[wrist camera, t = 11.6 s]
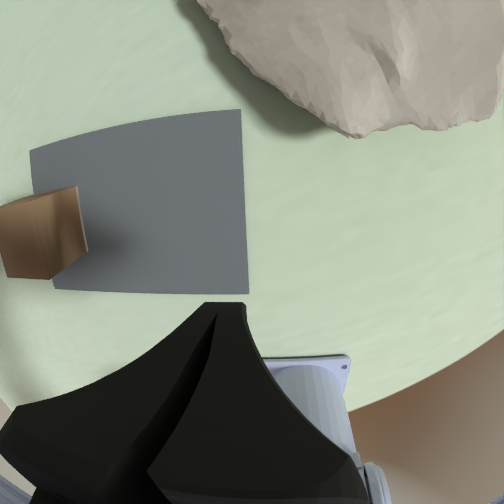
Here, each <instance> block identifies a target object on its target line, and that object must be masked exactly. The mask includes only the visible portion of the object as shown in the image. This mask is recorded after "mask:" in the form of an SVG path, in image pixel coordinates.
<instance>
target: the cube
mask: <svg viewBox="0 0 504 504" xmlns="http://www.w3.org/2000/svg"><path fill="white" fill-rule="evenodd" d="M87 252H88V247H87V242H86V237H85V232H84V227H83V221H82V215H81V209H80V202H79V195H78V188H77V186H74V187H69V188H64V189H58V190H53V191H48V192H43V193H39V194H34V195H31V196H28V197H25V198H22V199H19V200H16V201H14V202H11V203H8V204H5V205H3V206H0V253H1V257H2V260H3V264H4V267H5V271H6V274H7V277H10V278H27V279H45V280H50V279H51V278H53V277H54V276H55V275H57V274H58V273H59V272H61V271H62V270H63V269H65V268H66V267H67V266H69V265H70V264H72V263H73V262H74V261H76V260H77V259H79V258H80V257H81V256H83V255H84V254H86V253H87Z"/></svg>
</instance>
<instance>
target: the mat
mask: <svg viewBox="0 0 504 504" xmlns="http://www.w3.org/2000/svg"><path fill="white" fill-rule="evenodd" d="M30 164H31V175H32V184H33V191H34V194H39V193H43V192H48V191H53V190H58V189H64V188H69V187H74V186H77V188H78V195H79V202H80V209H81V215H82V221H83V227H84V232H85V237H86V242H87V247H88V252H87V253H86V254H84V255H83V256H81V257H80V258H79V259H77V260H76V261H74V262H73V263H72V264H70V265H69V266H67V267H66V268H65V269H63V270H62V271H61V272H59V273H58V274H57V275H55V276H54V277H53V278H52V280H53V283H54V287H55V289H67V290H83V291H102V292H126V293H157V294H249V280H248V260H247V239H246V218H245V196H244V174H243V152H242V128H241V110H240V109H236V110H222V111H210V112H200V113H191V114H183V115H176V116H169V117H162V118H156V119H150V120H144V121H139V122H133V123H128V124H123V125H119V126H114V127H110V128H105V129H101V130H97V131H93V132H89V133H85V134H81V135H78V136H74V137H71V138H67V139H64V140H60V141H57V142H54V143H51V144H48V145H45V146H42V147H39V148H36V149H33V150H30Z"/></svg>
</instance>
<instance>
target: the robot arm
mask: <svg viewBox="0 0 504 504" xmlns="http://www.w3.org/2000/svg"><path fill="white" fill-rule="evenodd" d="M350 364H351V359H350V357H349V356H334V357H319V358H299V359H262V357H261V355H260V353H259V351H258V349H257V347H256V345H255V343H254V340H253V338H252V335H251V332H250V330H249V326H248V323H247V313H246V305H245V304H244V303H243V302H205V303H203V304H202V305H201V306H200V307H199V308H198V309H197V310H196V311H195V312H194V313H193V314H191V315H190V316H189V317H188V318H187V319H186V320H185V321H184V322H183V323H182V324H181V325H179V326H178V327H177V328H176V329H175V330H174V331H173V332H172V333H170V334H169V335H168V336H167V337H165V338H164V339H163V340H162V341H160V342H159V343H158V344H157V345H155V346H154V347H153V348H151V349H150V350H149V351H147V352H146V353H145V354H143V355H142V356H140V357H139V358H137V359H136V360H134V361H132V362H131V363H129V364H128V365H126V366H124V367H123V368H121V369H119V370H117V371H115V372H114V373H112V374H110V375H108V376H106V377H104V378H102V379H100V380H98V381H96V382H94V383H91V384H89V385H87V386H84V387H82V388H79V389H77V390H74V391H71V392H69V393H66V394H63V395H60V396H57V397H53V398H50V399H46V400H42V401H38V402H34V403H29V404H25V405H19V406H17V407H16V408H15V410H14V411H13V413H12V414H11V416H10V417H9V418H8V420H7V421H6V423H5V424H4V426H3V427H2V429H1V430H0V454H1V455H2V456H3V457H4V458H5V459H6V461H7V462H8V463H9V464H11V465H12V466H13V467H14V468H15V469H16V470H17V471H18V472H19V473H20V474H21V475H22V476H24V477H25V478H26V479H27V480H28V481H29V482H31V483H32V484H33V485H34V486H35V487H37V488H36V490H35V492H34V494H33V496H30V495H29V494H27V493H26V492H24V491H23V490H21V489H19V488H18V487H17V486H15V485H14V484H12V483H11V482H9V481H8V480H6V479H5V478H4V477H2V476H1V475H0V504H391V498H390V494H389V490H388V485H387V481H386V478H385V475H384V473H383V470H382V468H381V467H379V466H377V465H374V463H372V462H369V463H365V464H364V465H363V467H364V473H363V469H362V464H361V460H360V456H359V453H358V452H356V449H355V444H354V440H353V435H352V431H351V426H350V422H349V418H348V413H347V409H346V405H345V401H344V397H343V394H344V390H345V386H346V382H347V377H348V373H349V369H350ZM343 365H345V366H343ZM488 504H504V494H502V495H501V496H499V497H498V498H496V499H494V500H493V501H491V502H489V503H488Z"/></svg>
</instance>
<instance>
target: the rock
mask: <svg viewBox="0 0 504 504" xmlns="http://www.w3.org/2000/svg"><path fill="white" fill-rule="evenodd" d="M196 1H197V2H198V4H199V5H200V6H201V7H202V9H203V10H204V11H205V13H206V14H207V15H208V16H209V19H210V20H212V21H214V22H216V23H217V24H218V27H219V29H220V30H221V32H222V34H223V36H224V40H225V43H226V44H227V45H228V47H229V48H230V51H231V53H232V54H233V55H234V56H235V57H237V58H238V59H239V60H241V61H242V63H243V64H244V65H246V66H247V67H248V68H249V69H250V71H251V72H252V73H253V75H255V76H257V77H259V78H261V79H263V80H265V81H267V82H268V83H270V84H272V85H273V86H275V87H276V88H277V89H279V90H280V91H282V93H283V94H284V96H285V97H287V98H288V99H289V100H290V101H292V102H293V103H295V104H296V105H298V106H300V107H302V108H304V109H307V110H308V111H309V112H310V113H312V114H313V115H315V116H316V117H318V118H319V119H320V120H321V121H323V122H324V123H325V124H326V125H327V126H328V127H330V128H332V129H334V130H336V131H337V132H339V133H341V134H342V135H344V136H346V137H347V138H350V137H353V138H354V139H360V138H365V137H366V136H367V135H369V134H370V133H371V132H373V131H376V130H379V131H387V130H389V129H391V128H393V127H396V126H399V125H407V124H414V125H416V126H417V127H419V128H420V129H421V130H434V131H444V130H447V129H448V128H449V127H450V128H451V127H453V126H459V125H461V123H462V122H468V121H470V120H472V121H476V122H479V121H481V120H485V119H489V118H490V117H491V116H492V115H493V114H494V112H495V110H496V108H497V106H498V103H499V101H500V98H501V95H502V91H503V90H504V0H196Z"/></svg>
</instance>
